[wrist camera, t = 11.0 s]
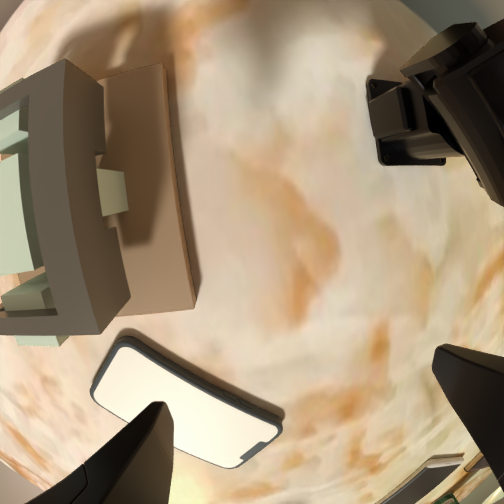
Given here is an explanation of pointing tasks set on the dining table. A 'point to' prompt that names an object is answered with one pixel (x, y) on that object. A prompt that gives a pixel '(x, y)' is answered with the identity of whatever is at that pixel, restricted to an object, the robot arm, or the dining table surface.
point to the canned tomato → (446, 499)
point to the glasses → (67, 204)
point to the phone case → (183, 405)
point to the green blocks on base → (107, 202)
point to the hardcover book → (477, 463)
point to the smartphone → (422, 481)
